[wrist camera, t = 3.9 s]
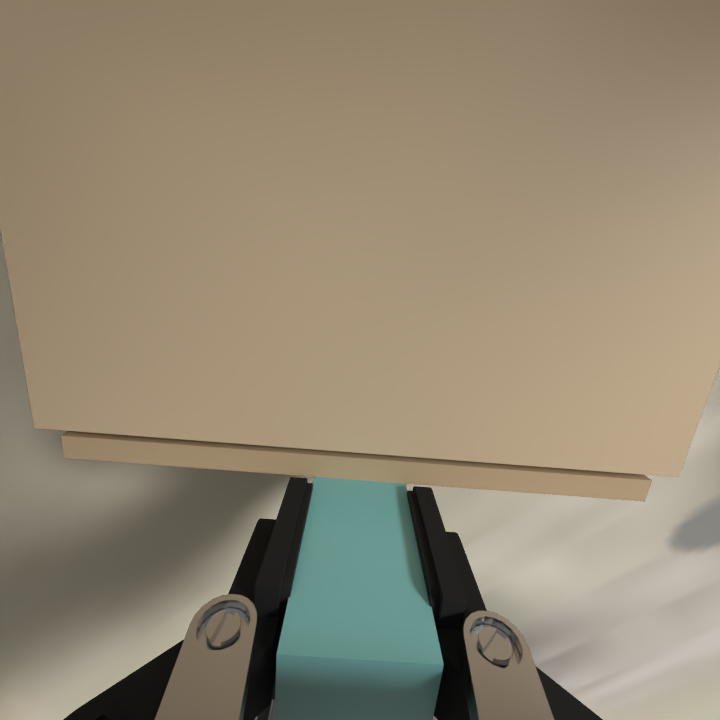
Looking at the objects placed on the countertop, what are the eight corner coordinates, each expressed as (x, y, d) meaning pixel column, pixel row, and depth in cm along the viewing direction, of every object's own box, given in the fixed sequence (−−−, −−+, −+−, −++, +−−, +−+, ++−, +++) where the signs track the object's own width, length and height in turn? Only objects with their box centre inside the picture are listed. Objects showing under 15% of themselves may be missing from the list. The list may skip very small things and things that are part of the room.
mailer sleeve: (655, -131, 14) (1142, -785, 5) (537, 384, 20) (678, 477, 11) (155, -189, 14) (-213, -1012, 5) (181, 355, 19) (34, 428, 10)
